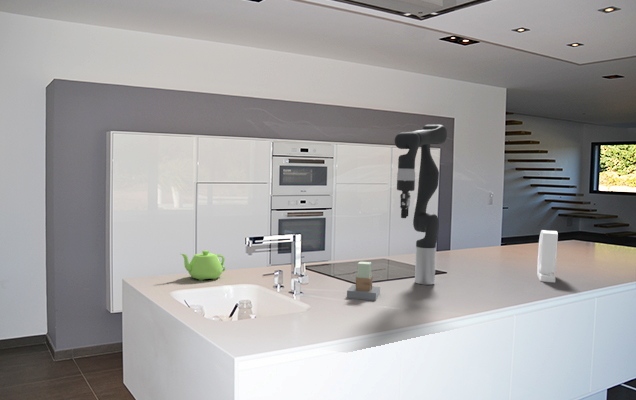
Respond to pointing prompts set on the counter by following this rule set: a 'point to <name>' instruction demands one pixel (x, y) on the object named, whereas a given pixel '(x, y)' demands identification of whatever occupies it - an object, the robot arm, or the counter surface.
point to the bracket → (547, 255)
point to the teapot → (204, 265)
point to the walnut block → (364, 284)
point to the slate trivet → (363, 293)
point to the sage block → (364, 270)
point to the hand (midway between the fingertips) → (404, 217)
